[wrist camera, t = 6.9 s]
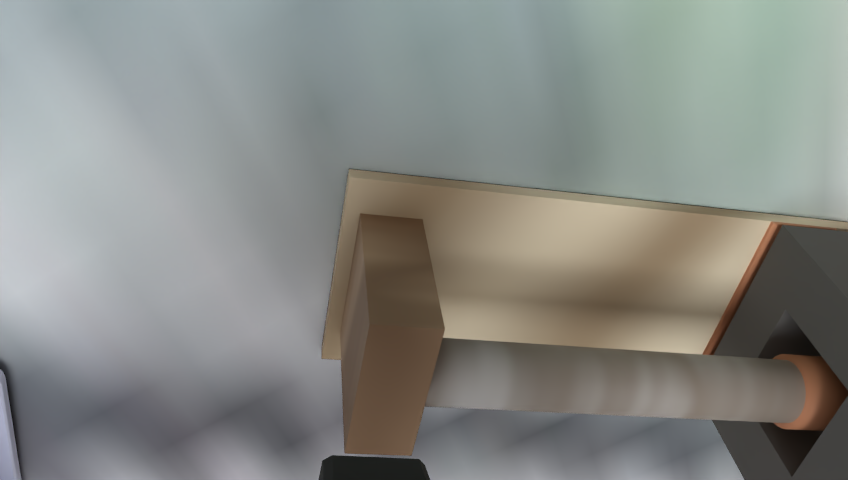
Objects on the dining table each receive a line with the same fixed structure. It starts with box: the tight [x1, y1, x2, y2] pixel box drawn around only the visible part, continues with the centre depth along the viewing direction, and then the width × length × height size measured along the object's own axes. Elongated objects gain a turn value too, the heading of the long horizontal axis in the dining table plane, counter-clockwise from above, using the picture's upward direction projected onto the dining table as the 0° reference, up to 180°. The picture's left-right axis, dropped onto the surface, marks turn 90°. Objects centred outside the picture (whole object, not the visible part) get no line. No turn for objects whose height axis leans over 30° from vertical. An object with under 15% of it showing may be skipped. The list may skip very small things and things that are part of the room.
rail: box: [322, 169, 848, 456], centre depth 20 cm, size 17×6×5 cm, turn 79°
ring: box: [712, 225, 848, 480], centre depth 20 cm, size 2×6×6 cm, turn 169°
